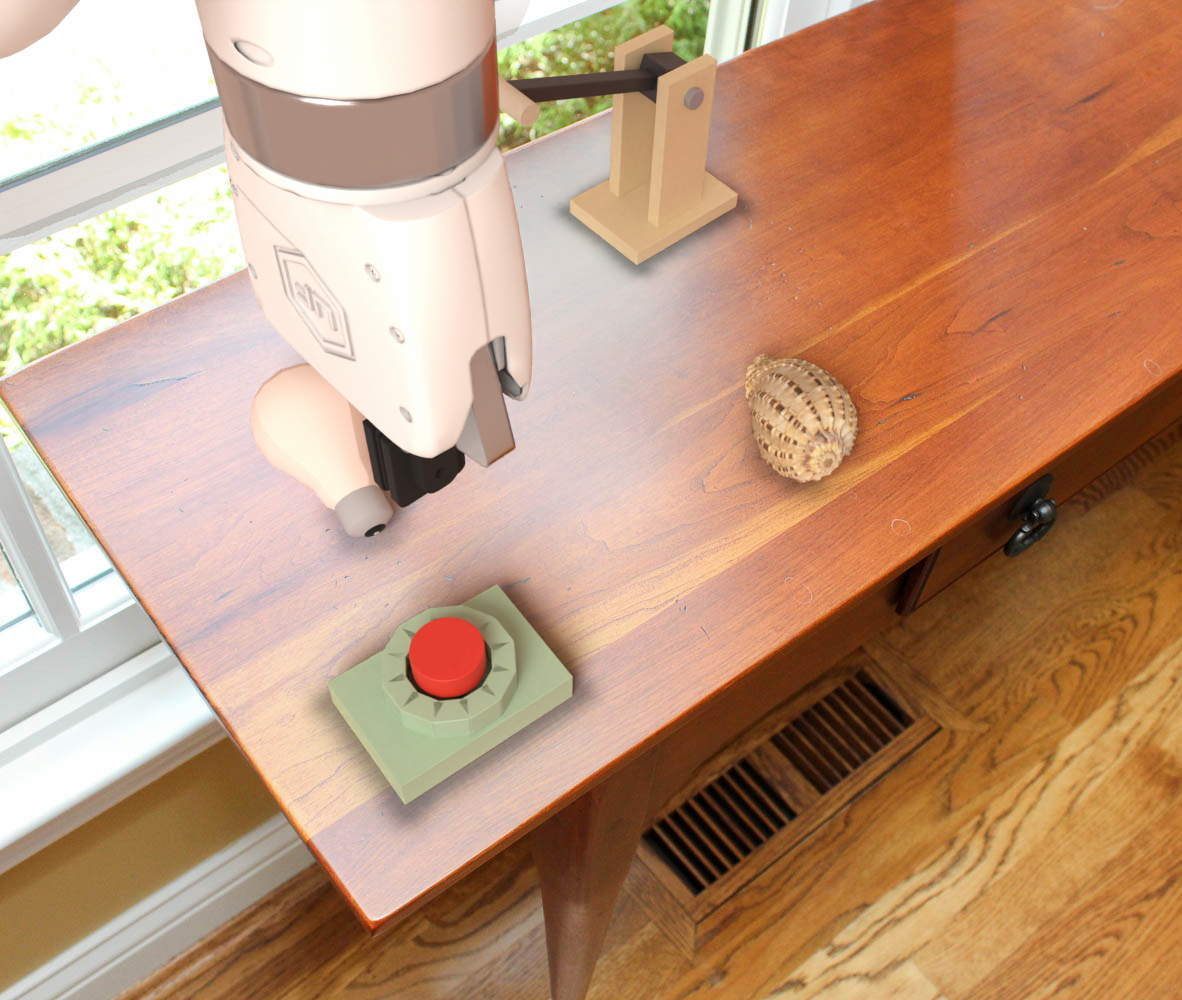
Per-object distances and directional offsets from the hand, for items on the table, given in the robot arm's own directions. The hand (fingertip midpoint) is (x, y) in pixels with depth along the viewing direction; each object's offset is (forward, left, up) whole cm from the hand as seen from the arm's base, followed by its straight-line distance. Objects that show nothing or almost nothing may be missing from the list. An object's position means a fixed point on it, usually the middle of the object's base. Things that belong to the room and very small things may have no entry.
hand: (421, 476), depth 49 cm
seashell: (+20, +18, -19) cm, 33 cm away
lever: (+8, +34, -7) cm, 36 cm away
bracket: (+13, +39, -19) cm, 45 cm away
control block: (0, 0, -19) cm, 19 cm away
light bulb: (-7, +15, -19) cm, 25 cm away
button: (0, 0, -16) cm, 16 cm away
